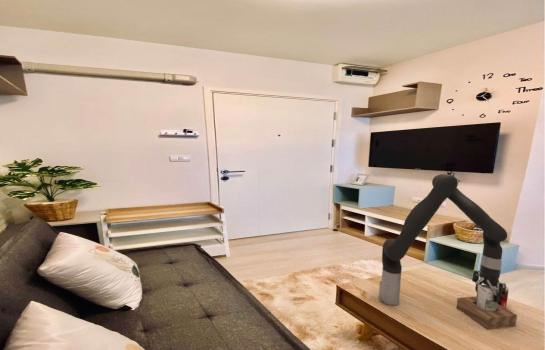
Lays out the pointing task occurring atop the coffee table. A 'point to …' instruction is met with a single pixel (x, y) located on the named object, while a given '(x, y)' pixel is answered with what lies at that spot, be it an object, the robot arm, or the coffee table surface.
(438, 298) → the coffee table surface
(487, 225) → the robot arm
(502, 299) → the canned food
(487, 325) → the hollow square frame
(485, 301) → the syrup box
